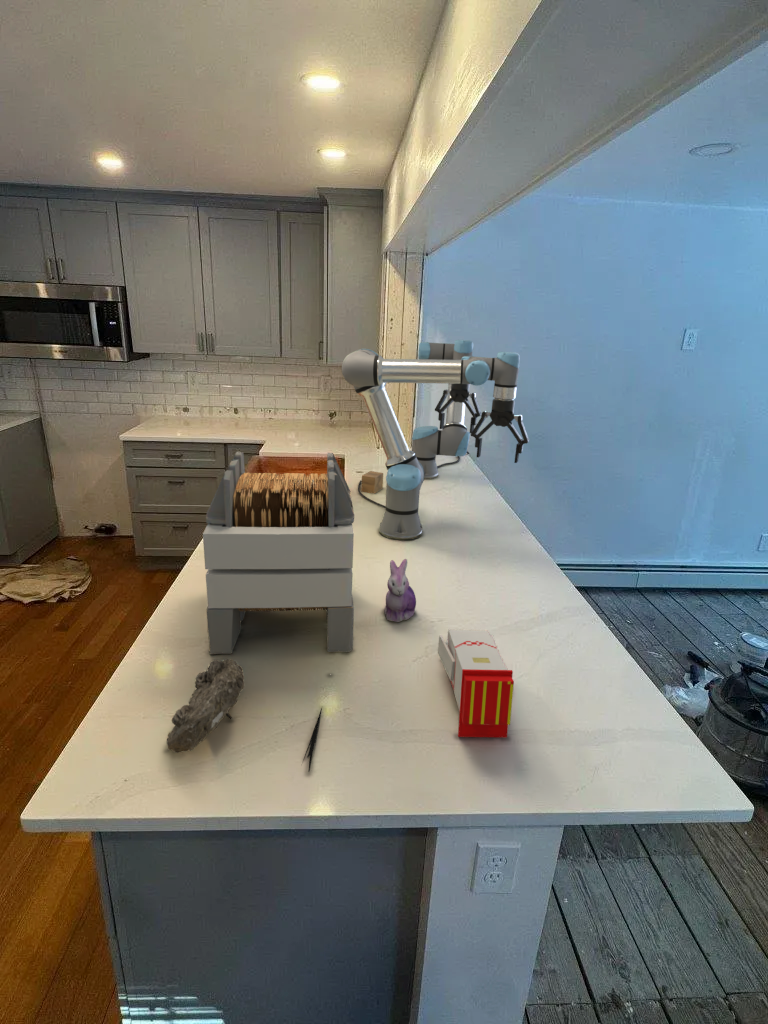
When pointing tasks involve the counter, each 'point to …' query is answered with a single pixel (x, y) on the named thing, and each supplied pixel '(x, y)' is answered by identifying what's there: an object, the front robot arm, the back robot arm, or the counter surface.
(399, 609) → the figurine
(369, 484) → the brown cardboard box
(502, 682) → the toy
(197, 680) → the fossil
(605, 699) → the counter surface
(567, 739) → the counter surface
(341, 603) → the grey record crate
